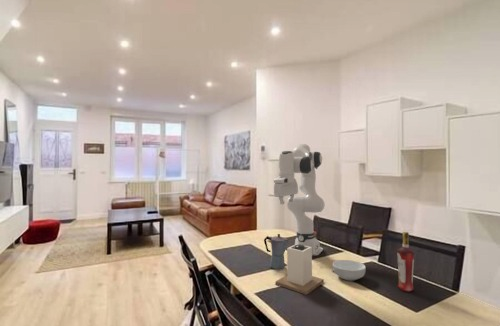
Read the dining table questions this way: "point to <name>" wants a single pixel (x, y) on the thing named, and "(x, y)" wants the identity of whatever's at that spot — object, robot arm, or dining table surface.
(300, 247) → the dark-topped thin piece
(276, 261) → the moka pot
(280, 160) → the robot arm
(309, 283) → the hollow square stand
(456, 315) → the dining table surface
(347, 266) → the cereal bowl
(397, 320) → the dining table surface
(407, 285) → the liquor
